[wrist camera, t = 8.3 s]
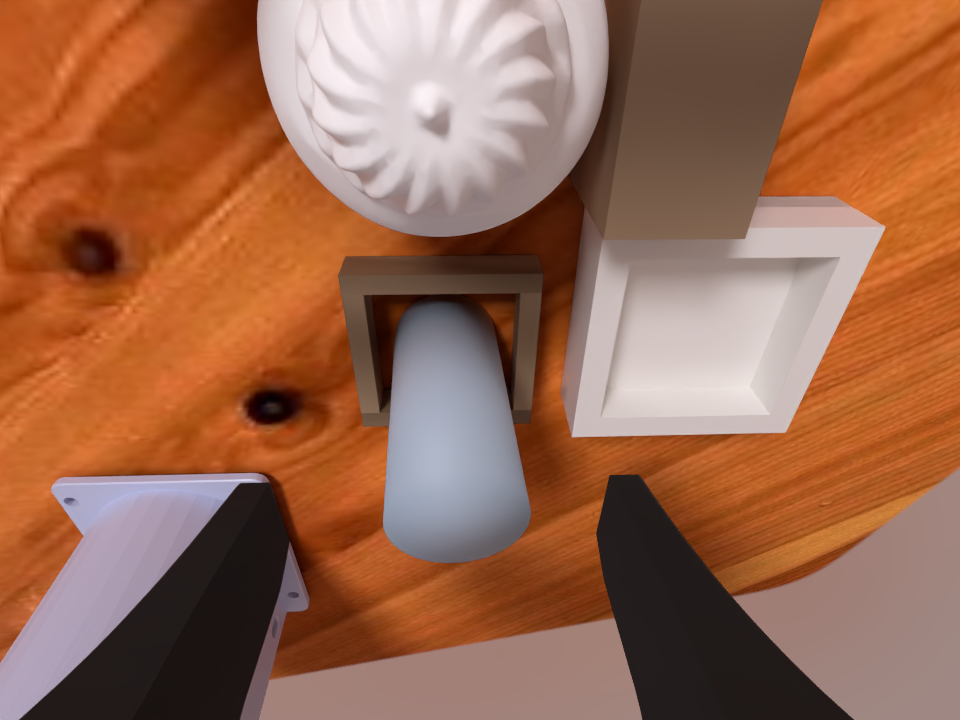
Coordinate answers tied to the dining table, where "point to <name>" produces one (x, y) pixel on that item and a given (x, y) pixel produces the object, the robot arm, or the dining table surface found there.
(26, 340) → the dining table surface
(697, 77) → the block
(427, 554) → the dowel
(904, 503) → the dining table surface
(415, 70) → the muffin
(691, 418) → the dish
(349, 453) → the dining table surface
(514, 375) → the socket
